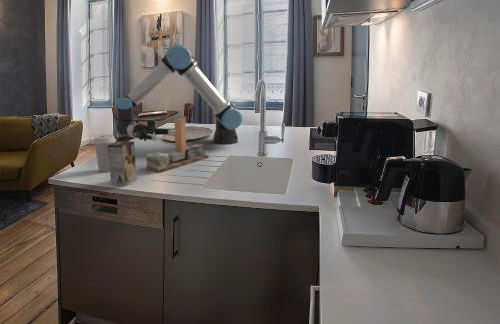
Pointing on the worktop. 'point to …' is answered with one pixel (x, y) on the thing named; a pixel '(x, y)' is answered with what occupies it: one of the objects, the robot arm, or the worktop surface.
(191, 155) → the stand
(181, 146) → the orange and grey l-shape
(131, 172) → the coffee box
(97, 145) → the coffee cup
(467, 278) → the worktop surface
